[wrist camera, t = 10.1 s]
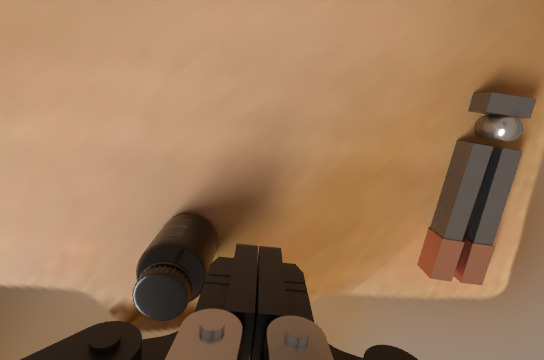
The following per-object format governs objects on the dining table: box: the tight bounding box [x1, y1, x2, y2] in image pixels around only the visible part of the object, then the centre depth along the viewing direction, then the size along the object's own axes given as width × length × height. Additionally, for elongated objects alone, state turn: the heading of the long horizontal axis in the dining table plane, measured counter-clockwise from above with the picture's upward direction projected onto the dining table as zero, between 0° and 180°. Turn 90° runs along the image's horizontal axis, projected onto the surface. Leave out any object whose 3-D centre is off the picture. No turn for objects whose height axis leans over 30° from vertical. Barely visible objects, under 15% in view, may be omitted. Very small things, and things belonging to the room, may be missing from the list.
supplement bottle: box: [132, 214, 217, 321], centre depth 33 cm, size 7×7×12 cm
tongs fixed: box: [453, 92, 536, 285], centre depth 36 cm, size 21×5×4 cm, turn 172°
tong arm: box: [417, 140, 493, 281], centre depth 37 cm, size 16×3×3 cm, turn 170°
